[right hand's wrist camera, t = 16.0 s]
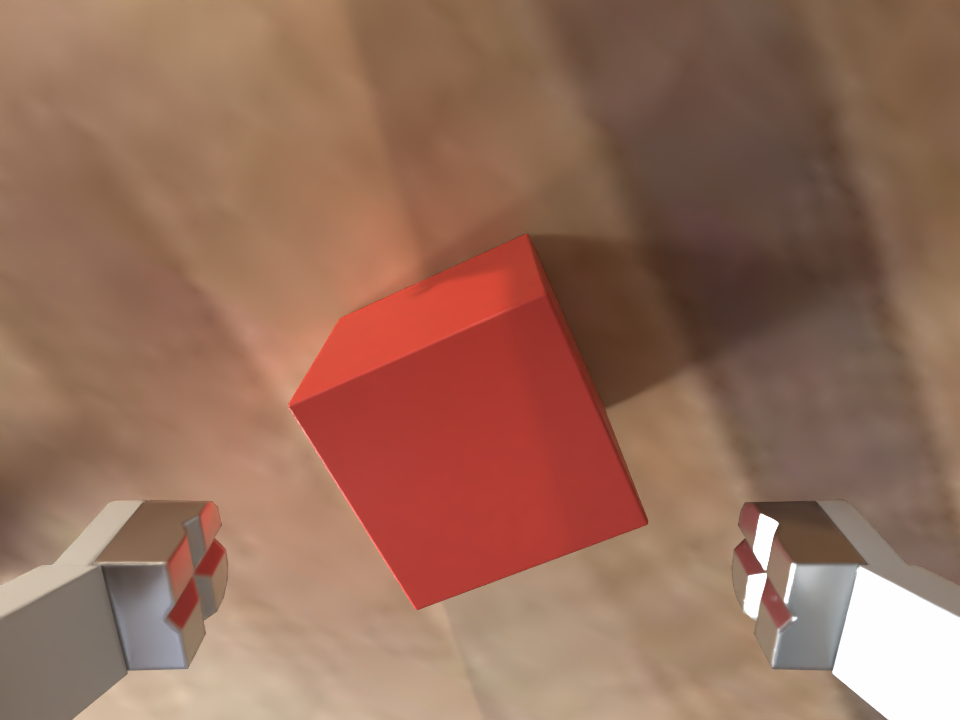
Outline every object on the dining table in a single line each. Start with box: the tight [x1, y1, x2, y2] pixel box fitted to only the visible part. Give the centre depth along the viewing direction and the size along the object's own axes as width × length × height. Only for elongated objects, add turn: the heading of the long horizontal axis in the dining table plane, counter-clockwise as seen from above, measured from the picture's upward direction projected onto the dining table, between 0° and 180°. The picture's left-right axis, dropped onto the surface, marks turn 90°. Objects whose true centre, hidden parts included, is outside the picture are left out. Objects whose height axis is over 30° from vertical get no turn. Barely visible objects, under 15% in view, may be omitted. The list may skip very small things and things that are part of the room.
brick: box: [288, 234, 648, 610], centre depth 15 cm, size 5×5×5 cm
